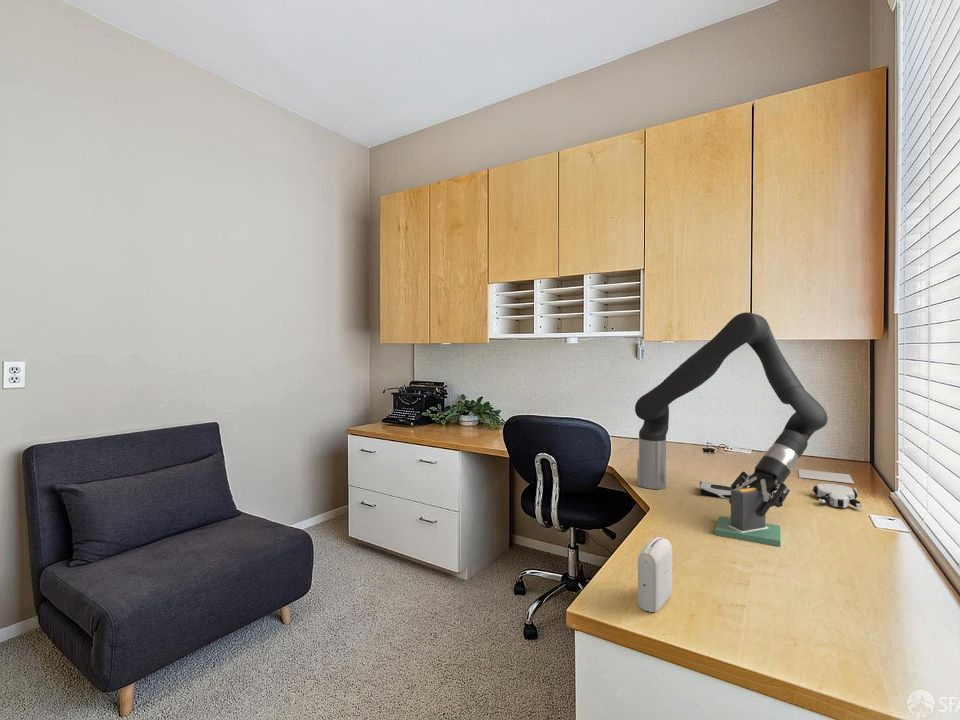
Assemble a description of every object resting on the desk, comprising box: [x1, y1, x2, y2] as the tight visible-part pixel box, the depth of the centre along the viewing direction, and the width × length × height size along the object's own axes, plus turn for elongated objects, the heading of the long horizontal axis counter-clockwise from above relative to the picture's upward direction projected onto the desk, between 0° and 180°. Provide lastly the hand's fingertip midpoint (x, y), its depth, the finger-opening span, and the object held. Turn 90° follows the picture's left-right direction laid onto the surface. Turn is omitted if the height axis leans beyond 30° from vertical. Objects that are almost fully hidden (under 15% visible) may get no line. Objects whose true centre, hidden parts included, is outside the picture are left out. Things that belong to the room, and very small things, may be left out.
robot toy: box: [810, 482, 864, 509], centre depth 156 cm, size 12×4×15 cm
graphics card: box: [699, 481, 783, 507], centre depth 162 cm, size 10×3×25 cm
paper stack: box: [797, 468, 855, 484], centre depth 184 cm, size 23×25×1 cm
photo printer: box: [637, 536, 673, 613], centre depth 98 cm, size 10×4×12 cm, turn 140°
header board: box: [714, 515, 781, 548], centre depth 132 cm, size 15×12×5 cm
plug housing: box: [730, 486, 766, 531], centre depth 132 cm, size 8×4×10 cm, turn 108°
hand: (744, 509), depth 131 cm, fingers open, 8 cm apart
